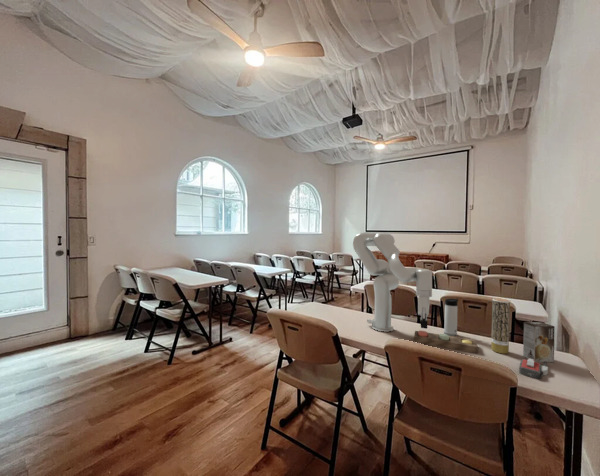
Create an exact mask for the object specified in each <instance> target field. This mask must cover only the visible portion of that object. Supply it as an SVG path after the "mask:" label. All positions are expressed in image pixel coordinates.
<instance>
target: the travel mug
mask: <svg viewBox="0 0 600 476" xmlns="http://www.w3.org/2000/svg"><path fill="white" fill-rule="evenodd" d="M458 302H459V299H457V298H446V299H445V300H444V327H443V328H444V329H443V330H444V331H443V332H444V333H443V334H446V335H449V336H453V337H457V335H458Z"/></svg>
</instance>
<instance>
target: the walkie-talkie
mask: <svg viewBox="0 0 600 476" xmlns="http://www.w3.org/2000/svg"><path fill="white" fill-rule="evenodd" d="M547 365H548V362H546V361H544V362H543V365H542V364H541V362H535V360H534V359H530V358H526V359H525V358H522V359H521V361H520V364H519V368H518V369H519V370H518V372H519V374H520V375H522V376H527V377H528V378H533V379H537V380H541V379H542V376H547V375H548V373H549V366H547Z"/></svg>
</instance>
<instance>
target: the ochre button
mask: <svg viewBox="0 0 600 476" xmlns="http://www.w3.org/2000/svg"><path fill="white" fill-rule="evenodd" d="M462 343H466V344H472V342H471V341H469V340H462Z"/></svg>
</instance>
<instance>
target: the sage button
mask: <svg viewBox="0 0 600 476" xmlns="http://www.w3.org/2000/svg"><path fill="white" fill-rule="evenodd" d="M439 339H441V340H448V341H449V335H446V334H445V333H439Z"/></svg>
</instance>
